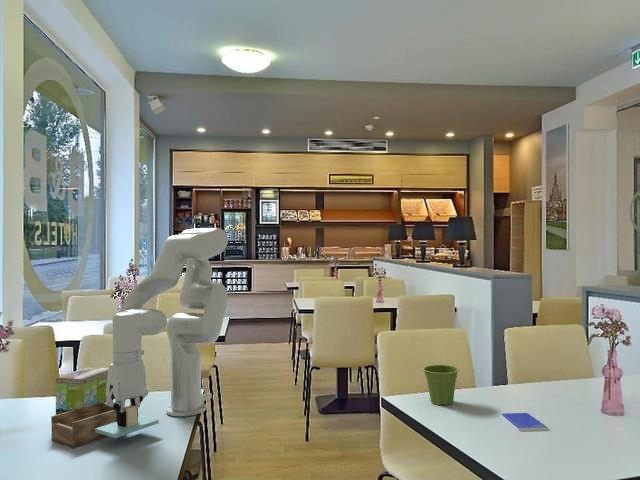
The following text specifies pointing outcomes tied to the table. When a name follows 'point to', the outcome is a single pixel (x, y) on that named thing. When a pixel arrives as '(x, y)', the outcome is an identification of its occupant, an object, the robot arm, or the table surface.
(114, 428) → the cover plate
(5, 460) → the table surface
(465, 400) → the table surface
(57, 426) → the walnut box
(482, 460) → the table surface
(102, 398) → the tea box
